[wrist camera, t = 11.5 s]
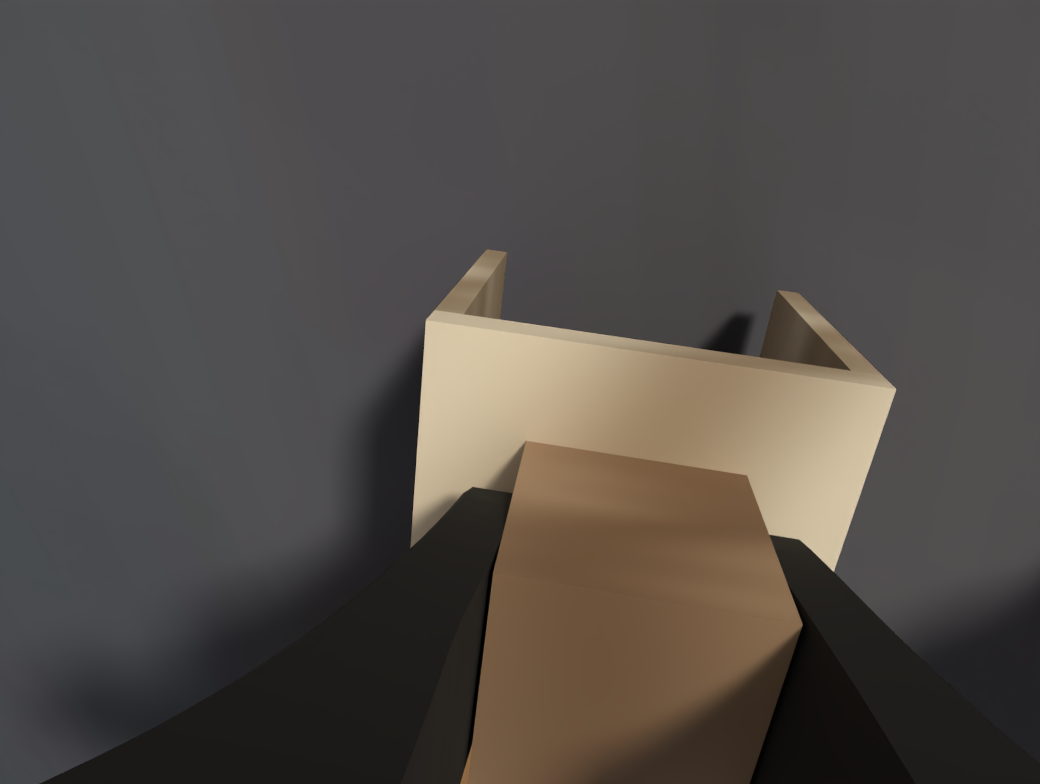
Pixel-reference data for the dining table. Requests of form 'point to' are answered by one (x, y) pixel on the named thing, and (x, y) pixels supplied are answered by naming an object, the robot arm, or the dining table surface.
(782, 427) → the cover
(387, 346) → the dining table surface
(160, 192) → the dining table surface
